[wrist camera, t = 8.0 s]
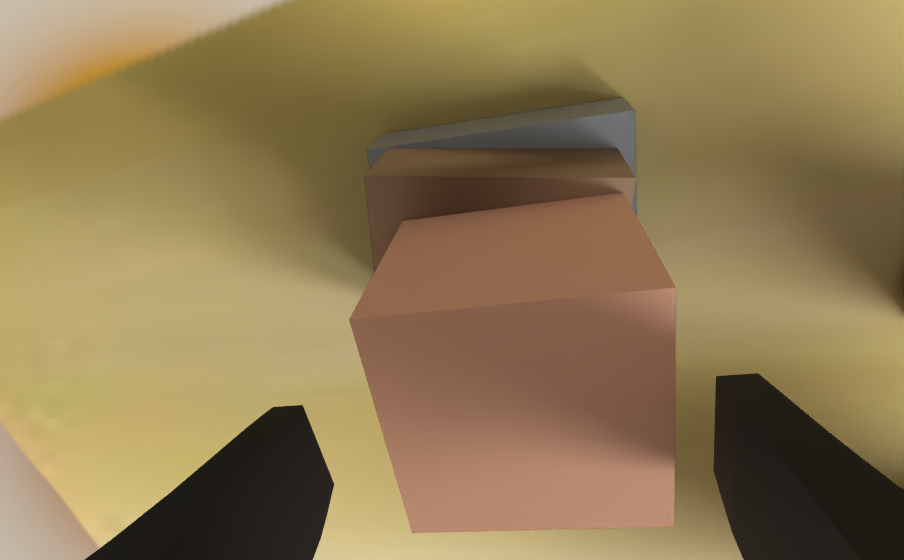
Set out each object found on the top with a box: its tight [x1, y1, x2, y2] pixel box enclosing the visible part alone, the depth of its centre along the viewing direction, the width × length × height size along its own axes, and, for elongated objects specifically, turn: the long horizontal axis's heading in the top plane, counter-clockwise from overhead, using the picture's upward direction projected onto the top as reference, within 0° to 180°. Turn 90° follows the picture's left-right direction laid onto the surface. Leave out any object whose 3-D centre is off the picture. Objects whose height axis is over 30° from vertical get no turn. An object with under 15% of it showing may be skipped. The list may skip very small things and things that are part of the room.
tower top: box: [364, 148, 636, 272], centre depth 14 cm, size 6×6×2 cm
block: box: [349, 193, 676, 533], centre depth 11 cm, size 5×5×4 cm
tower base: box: [366, 97, 637, 217], centre depth 17 cm, size 7×7×2 cm
